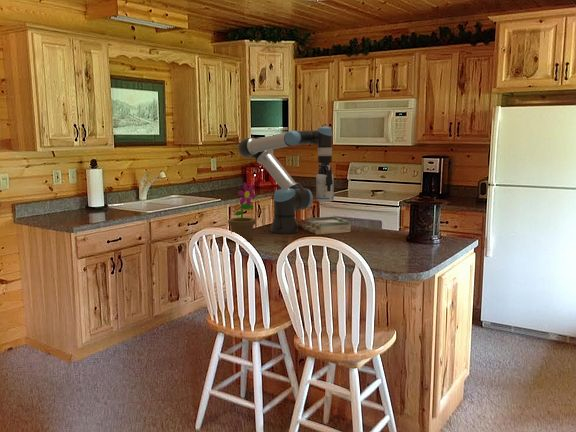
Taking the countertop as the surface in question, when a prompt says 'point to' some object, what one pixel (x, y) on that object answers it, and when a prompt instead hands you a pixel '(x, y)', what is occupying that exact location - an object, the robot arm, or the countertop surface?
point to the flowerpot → (242, 224)
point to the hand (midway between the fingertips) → (324, 196)
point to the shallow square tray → (327, 225)
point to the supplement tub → (323, 188)
